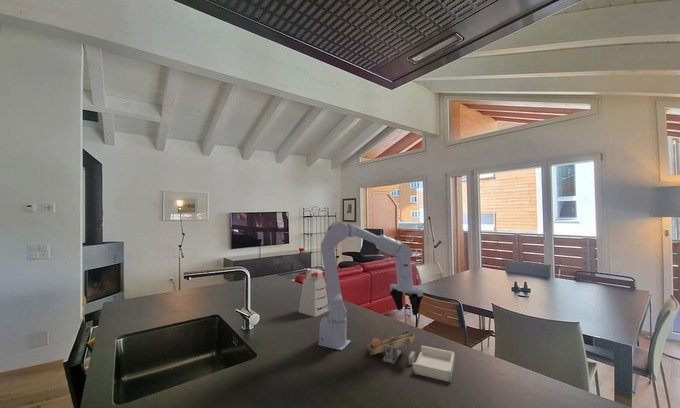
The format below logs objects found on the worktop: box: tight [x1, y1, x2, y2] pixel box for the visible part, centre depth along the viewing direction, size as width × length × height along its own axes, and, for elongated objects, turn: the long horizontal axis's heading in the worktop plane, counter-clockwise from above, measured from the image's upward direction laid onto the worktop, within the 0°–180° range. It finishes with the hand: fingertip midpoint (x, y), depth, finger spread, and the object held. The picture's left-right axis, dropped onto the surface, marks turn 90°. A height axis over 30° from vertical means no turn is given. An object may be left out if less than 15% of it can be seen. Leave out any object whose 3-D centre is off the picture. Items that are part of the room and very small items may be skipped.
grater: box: [298, 268, 329, 318], centre depth 140 cm, size 10×10×20 cm
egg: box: [371, 337, 381, 348], centre depth 97 cm, size 3×3×3 cm
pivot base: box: [381, 336, 416, 366], centre depth 94 cm, size 9×8×5 cm
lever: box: [366, 330, 415, 356], centre depth 98 cm, size 15×11×3 cm
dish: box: [412, 345, 456, 383], centre depth 89 cm, size 10×13×3 cm
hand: (407, 311), depth 108 cm, fingers open, 7 cm apart
